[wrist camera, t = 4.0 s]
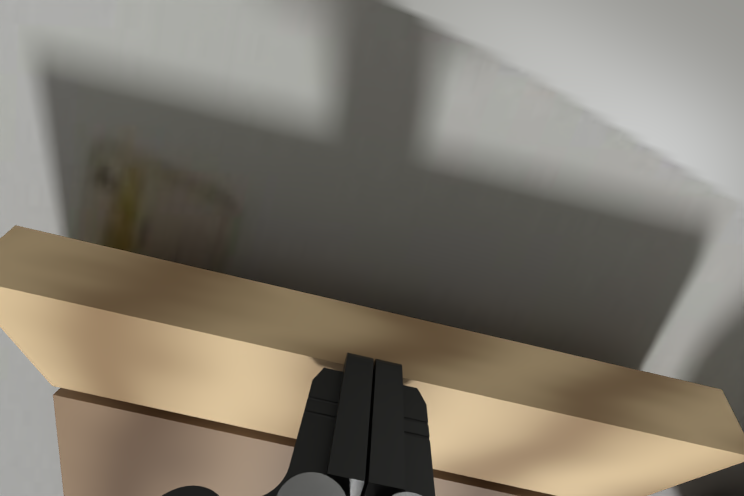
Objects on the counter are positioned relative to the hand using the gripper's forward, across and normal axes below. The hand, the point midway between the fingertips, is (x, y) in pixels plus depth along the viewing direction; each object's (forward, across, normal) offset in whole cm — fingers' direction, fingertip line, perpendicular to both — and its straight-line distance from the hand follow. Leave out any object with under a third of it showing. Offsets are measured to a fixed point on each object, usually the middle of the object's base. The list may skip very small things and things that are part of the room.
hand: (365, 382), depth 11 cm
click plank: (+3, 0, +2) cm, 4 cm away
